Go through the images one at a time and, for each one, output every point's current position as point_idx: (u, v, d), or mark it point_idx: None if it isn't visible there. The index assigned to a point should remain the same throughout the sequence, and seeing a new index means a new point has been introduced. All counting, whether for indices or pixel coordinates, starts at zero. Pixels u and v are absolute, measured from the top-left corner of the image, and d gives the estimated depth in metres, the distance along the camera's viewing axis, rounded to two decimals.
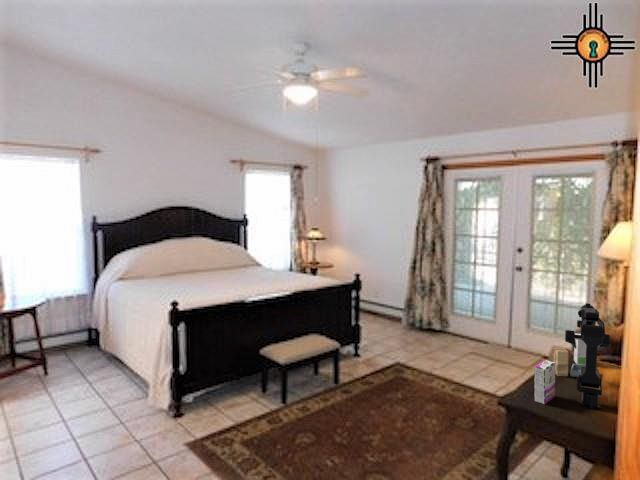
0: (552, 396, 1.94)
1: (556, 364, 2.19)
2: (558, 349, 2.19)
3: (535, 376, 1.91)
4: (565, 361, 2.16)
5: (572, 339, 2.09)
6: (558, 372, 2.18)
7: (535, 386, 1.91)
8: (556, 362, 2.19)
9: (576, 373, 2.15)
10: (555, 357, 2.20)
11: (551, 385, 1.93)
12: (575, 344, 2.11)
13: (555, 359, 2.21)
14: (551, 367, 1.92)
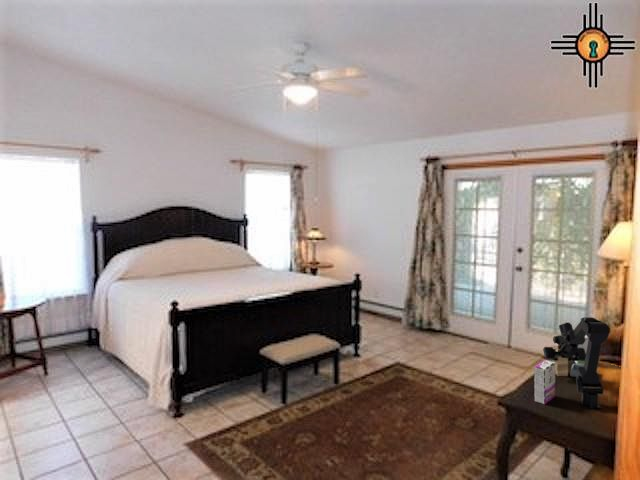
0: (552, 396, 1.94)
1: (556, 364, 2.19)
2: (558, 349, 2.19)
3: (535, 376, 1.91)
4: (564, 361, 2.17)
5: (553, 357, 2.13)
6: (558, 372, 2.18)
7: (535, 386, 1.91)
8: (556, 362, 2.19)
9: (576, 373, 2.15)
10: None
11: (551, 385, 1.93)
12: None
13: None
14: (551, 367, 1.92)
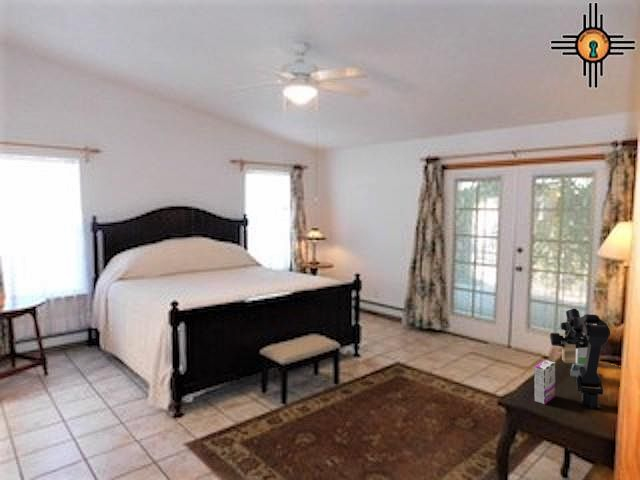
0: (552, 396, 1.94)
1: (563, 351, 2.18)
2: None
3: (535, 376, 1.91)
4: (572, 348, 2.15)
5: (559, 343, 2.13)
6: (565, 359, 2.17)
7: (535, 386, 1.91)
8: (563, 349, 2.18)
9: (576, 373, 2.15)
10: None
11: (551, 385, 1.93)
12: None
13: None
14: (551, 367, 1.92)
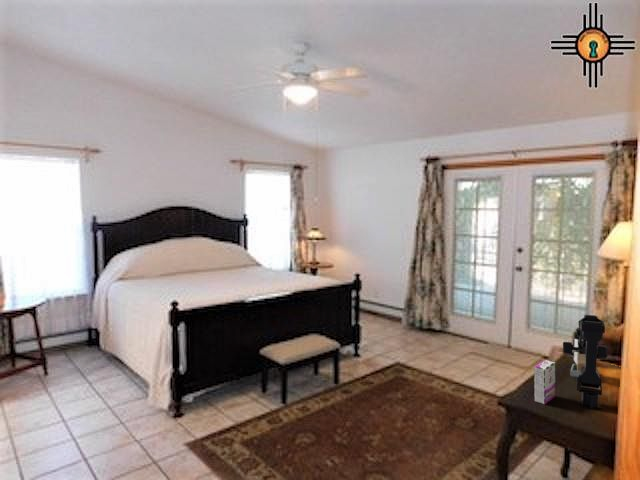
0: (552, 396, 1.94)
1: (577, 363, 2.17)
2: None
3: (535, 376, 1.91)
4: None
5: (570, 352, 2.13)
6: (579, 371, 2.16)
7: (535, 386, 1.91)
8: (577, 361, 2.18)
9: (576, 373, 2.15)
10: (577, 356, 2.19)
11: (551, 385, 1.93)
12: (573, 355, 2.16)
13: (577, 358, 2.19)
14: (551, 367, 1.92)
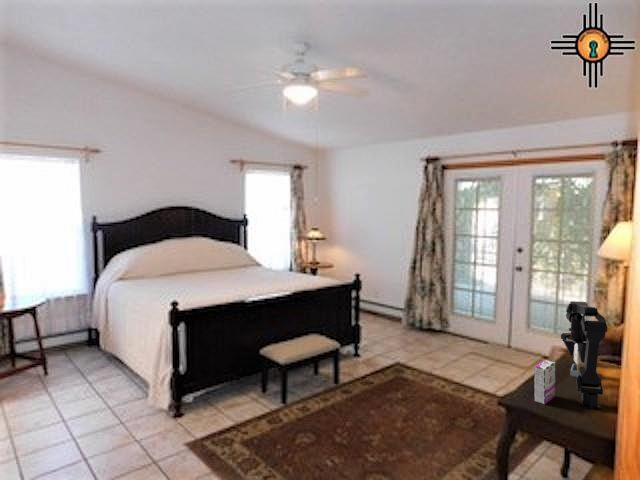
0: (552, 396, 1.94)
1: (577, 363, 2.17)
2: None
3: (535, 376, 1.91)
4: None
5: (564, 335, 2.11)
6: None
7: (535, 386, 1.91)
8: (577, 361, 2.18)
9: (576, 373, 2.15)
10: (577, 356, 2.19)
11: (551, 385, 1.93)
12: (567, 345, 2.10)
13: (577, 358, 2.19)
14: (551, 367, 1.92)
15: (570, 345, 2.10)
